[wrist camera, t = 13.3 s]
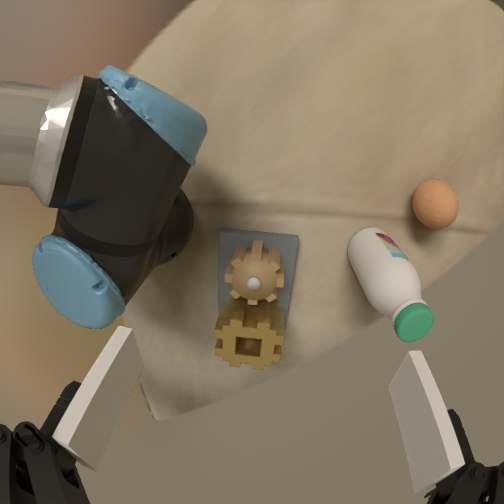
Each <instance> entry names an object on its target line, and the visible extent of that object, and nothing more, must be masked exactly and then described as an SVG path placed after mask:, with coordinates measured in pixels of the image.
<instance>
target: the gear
mask: <svg viewBox="0 0 504 504" xmlns="http://www.w3.org/2000/svg"><path fill="white" fill-rule="evenodd" d="M215 338H218V339H217V343H216V347H215V355H216V356H223V361H229V366H232V367H240V364H241V363H246V364H254V365H253V369H261V370H264V365H267V366H271V364H272V362H279V361H280V356H281V345H283V340H284V307H277V301H270V302H268V301H267V300H266V299H265V298H264V299H261V300H257V305H250V304H248V299H246V298H244V297H242V296H240V297H238V298H237V299H235V298H234V297H230V299H229V302H226V301H223V303H222V306H221V310H220V313H219V316H218V320H217V323H216V327H215Z"/></svg>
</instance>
